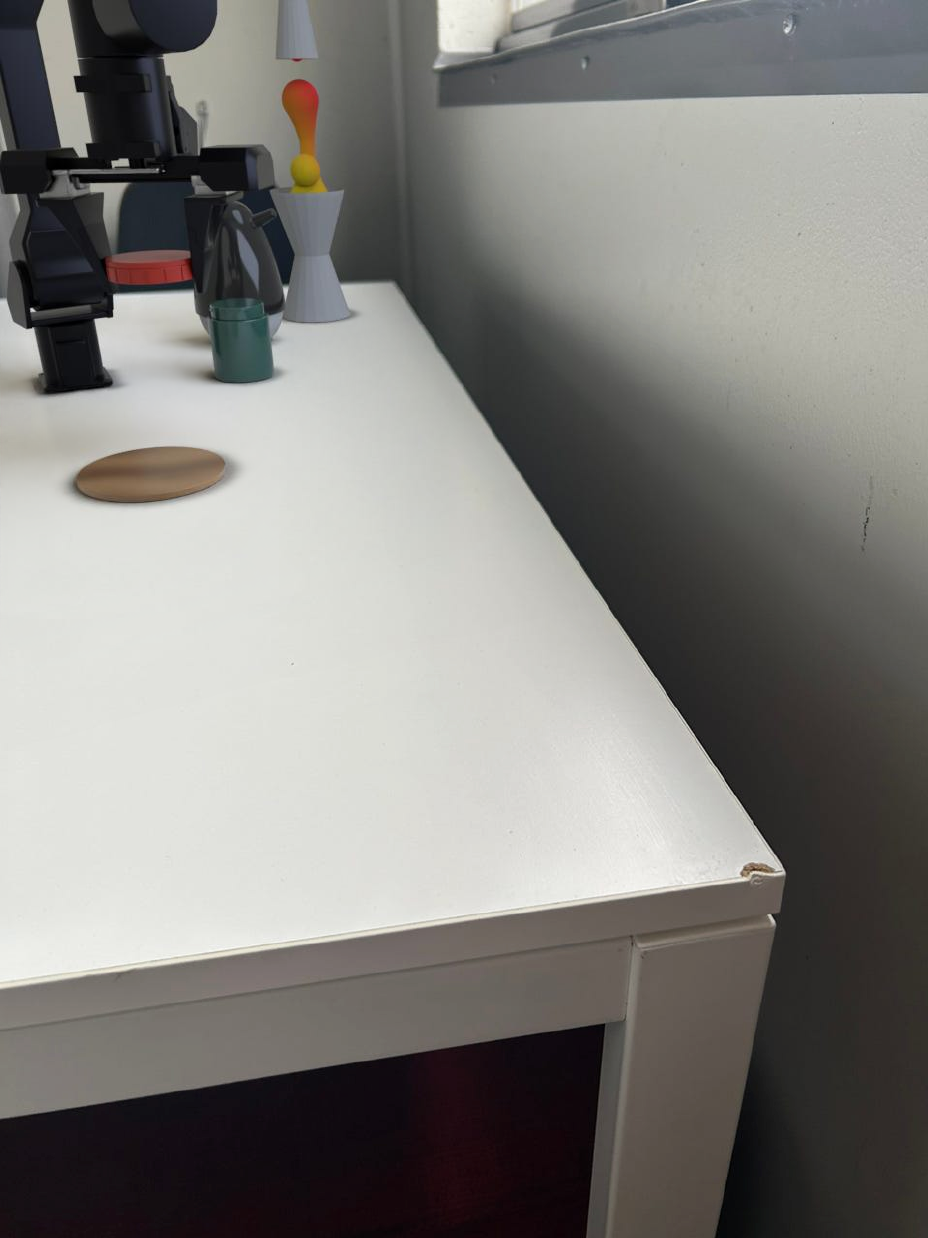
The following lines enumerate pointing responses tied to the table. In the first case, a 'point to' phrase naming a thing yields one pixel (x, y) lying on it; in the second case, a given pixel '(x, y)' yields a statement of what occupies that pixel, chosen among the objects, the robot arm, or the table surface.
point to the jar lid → (149, 267)
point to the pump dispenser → (243, 266)
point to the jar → (240, 340)
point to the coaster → (151, 474)
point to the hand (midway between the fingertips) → (157, 293)
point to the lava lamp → (307, 186)
